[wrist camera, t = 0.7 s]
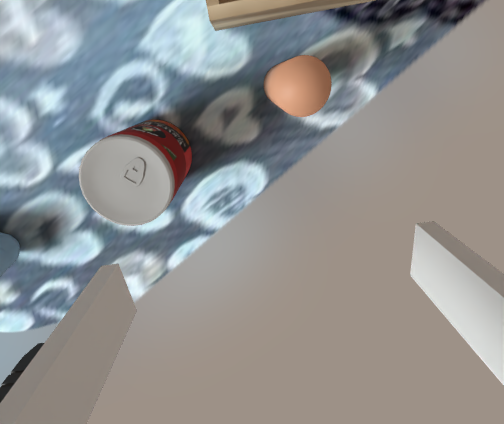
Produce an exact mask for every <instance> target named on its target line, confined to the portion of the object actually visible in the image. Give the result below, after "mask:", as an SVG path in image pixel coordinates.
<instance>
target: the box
mask: <svg viewBox="0 0 504 424" xmlns="http://www.w3.org/2000/svg"><path fill="white" fill-rule="evenodd" d="M369 1H375V0H206V3H207V9H208V14H209V19H210V22H211V24H212V26H213V27H214V29H215V31H217V30H222V29H228V28H233V27H238V26H243V25H249V24H254V23H259V22H264V21H270V20H275V19H280V18H285V17H291V16H296V15H301V14H306V13H312V12H317V11H322V10H327V9H333V8H338V7H343V6H348V5H354V4H359V3H364V2H369Z"/></svg>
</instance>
